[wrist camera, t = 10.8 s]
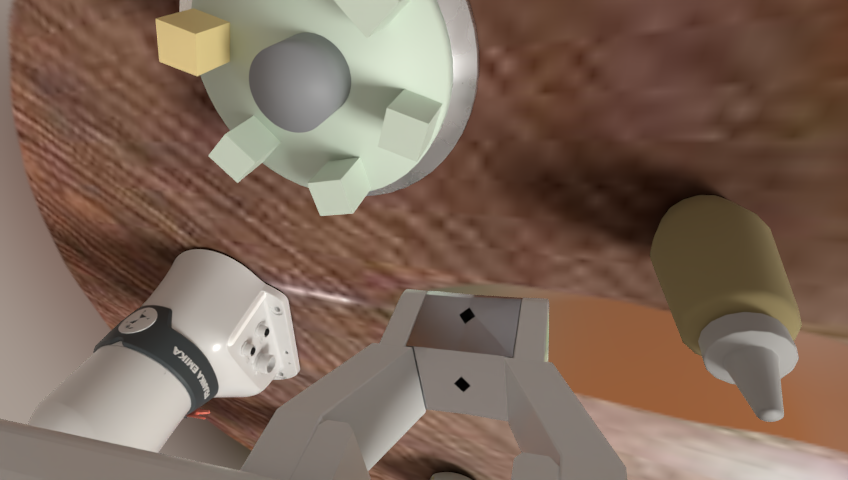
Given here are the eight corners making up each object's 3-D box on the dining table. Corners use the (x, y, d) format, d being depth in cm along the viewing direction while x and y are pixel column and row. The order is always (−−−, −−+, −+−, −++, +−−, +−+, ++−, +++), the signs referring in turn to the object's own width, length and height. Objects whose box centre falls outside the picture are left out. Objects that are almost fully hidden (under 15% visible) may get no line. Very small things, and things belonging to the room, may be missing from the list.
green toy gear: (494, -32, 30) (477, -19, 25) (414, 214, 43) (393, 253, 38) (205, -138, 31) (135, -145, 26) (211, 134, 44) (165, 162, 39)
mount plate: (488, 191, 41) (484, 207, 39) (258, 190, 48) (243, 203, 46) (464, -160, 28) (454, -165, 26) (152, -91, 35) (123, -91, 33)
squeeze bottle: (755, 259, 38) (857, 466, 24) (647, 267, 41) (682, 455, 27) (761, 172, 34) (888, 359, 20) (641, 188, 37) (679, 360, 23)
